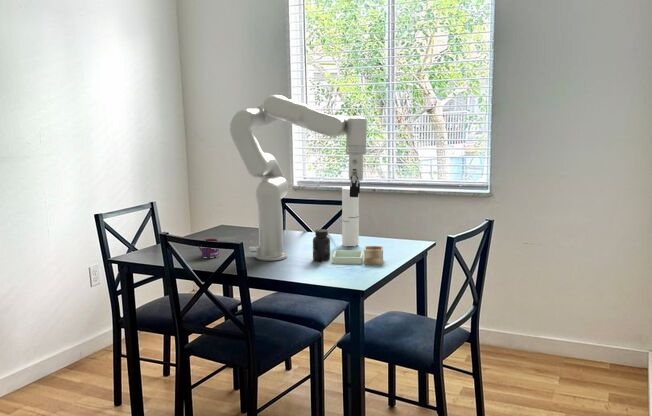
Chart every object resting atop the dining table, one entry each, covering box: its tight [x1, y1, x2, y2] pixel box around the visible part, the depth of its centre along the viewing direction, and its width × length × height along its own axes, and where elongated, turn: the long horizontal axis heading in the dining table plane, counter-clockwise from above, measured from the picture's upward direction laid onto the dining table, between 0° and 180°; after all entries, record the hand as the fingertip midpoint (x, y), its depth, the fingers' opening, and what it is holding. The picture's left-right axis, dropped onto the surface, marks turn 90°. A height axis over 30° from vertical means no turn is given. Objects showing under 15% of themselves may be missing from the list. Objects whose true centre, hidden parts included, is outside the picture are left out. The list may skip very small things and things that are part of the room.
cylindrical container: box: [341, 186, 360, 247], centre depth 264 cm, size 7×7×25 cm
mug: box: [198, 238, 220, 258], centre depth 247 cm, size 7×10×7 cm
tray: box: [332, 249, 364, 265], centre depth 237 cm, size 11×11×3 cm
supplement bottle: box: [312, 228, 331, 263], centre depth 239 cm, size 7×7×12 cm
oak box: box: [363, 245, 384, 265], centre depth 234 cm, size 7×7×6 cm
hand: (354, 195), depth 233 cm, fingers open, 9 cm apart
